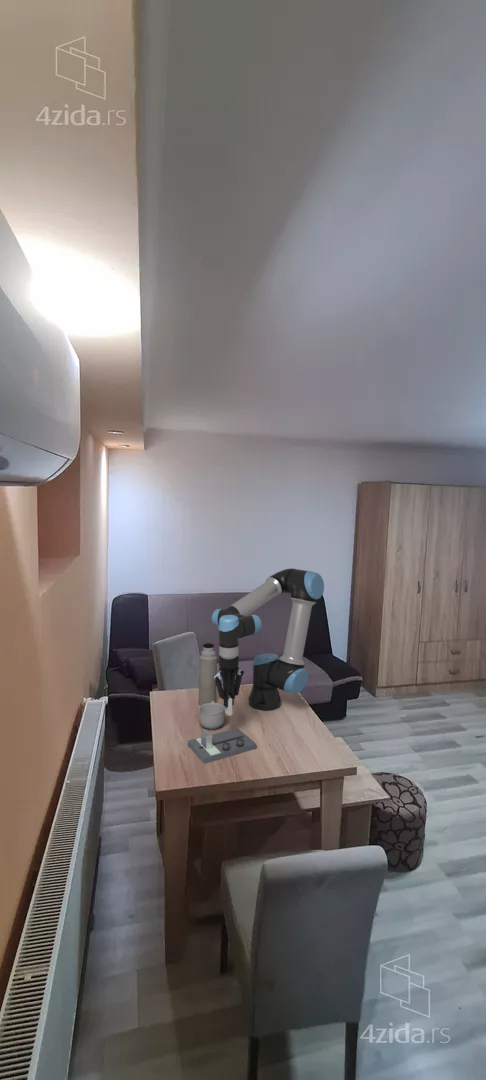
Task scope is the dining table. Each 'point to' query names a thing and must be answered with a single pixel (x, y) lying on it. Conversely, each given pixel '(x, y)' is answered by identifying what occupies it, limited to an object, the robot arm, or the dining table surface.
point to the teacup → (211, 715)
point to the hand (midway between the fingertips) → (228, 713)
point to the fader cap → (206, 739)
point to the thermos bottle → (207, 674)
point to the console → (222, 745)
